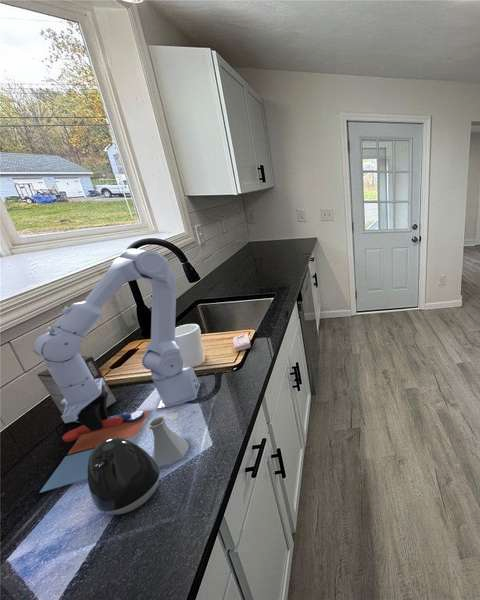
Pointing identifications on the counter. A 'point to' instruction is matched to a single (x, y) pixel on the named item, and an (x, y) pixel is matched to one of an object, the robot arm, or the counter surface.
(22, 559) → the counter surface
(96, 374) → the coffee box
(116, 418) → the red spoon
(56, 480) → the blue mat
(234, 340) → the soap bar
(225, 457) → the counter surface
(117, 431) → the terracotta mat
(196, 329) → the foam cup
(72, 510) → the counter surface
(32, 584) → the counter surface
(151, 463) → the black rounded cone
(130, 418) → the blue spoon
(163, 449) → the flask
